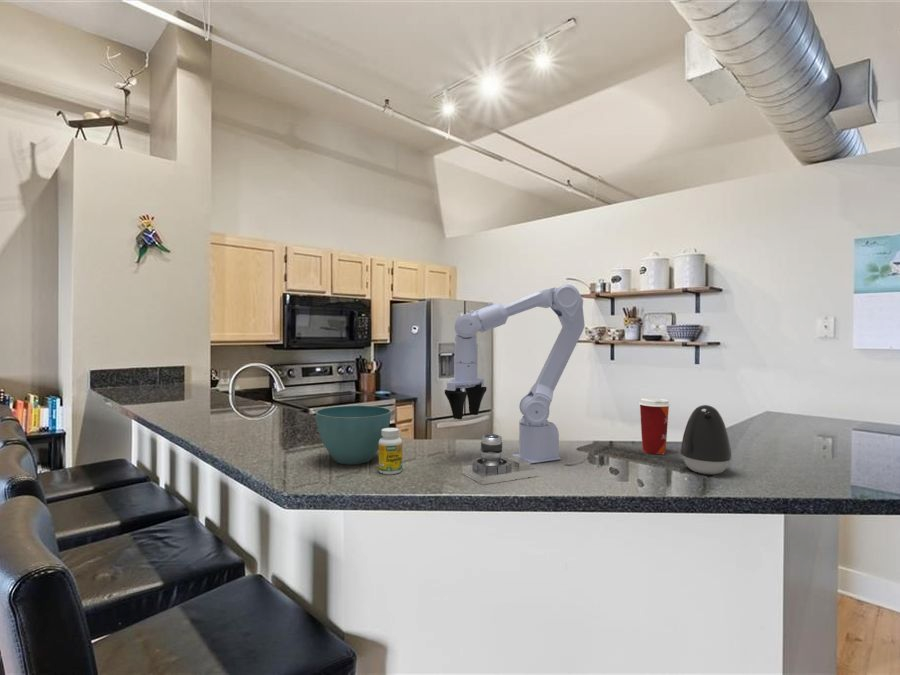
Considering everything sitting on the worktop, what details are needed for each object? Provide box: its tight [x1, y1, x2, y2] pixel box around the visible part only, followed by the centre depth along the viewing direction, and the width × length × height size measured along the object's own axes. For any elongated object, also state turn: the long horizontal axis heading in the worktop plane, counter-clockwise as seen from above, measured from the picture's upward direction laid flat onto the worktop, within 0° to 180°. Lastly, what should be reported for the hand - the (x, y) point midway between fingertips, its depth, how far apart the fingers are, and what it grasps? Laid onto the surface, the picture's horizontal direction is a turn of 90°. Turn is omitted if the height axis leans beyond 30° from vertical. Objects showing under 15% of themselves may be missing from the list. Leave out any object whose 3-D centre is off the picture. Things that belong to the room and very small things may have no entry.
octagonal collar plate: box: [461, 456, 539, 486], centre depth 108 cm, size 14×9×3 cm, turn 116°
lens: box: [480, 433, 503, 466], centre depth 107 cm, size 5×5×7 cm
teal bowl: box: [315, 405, 392, 465], centre depth 120 cm, size 18×18×12 cm
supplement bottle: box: [378, 427, 403, 475], centre depth 110 cm, size 5×5×10 cm
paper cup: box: [638, 397, 671, 455], centre depth 129 cm, size 8×8×14 cm
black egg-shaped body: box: [680, 404, 732, 476], centre depth 111 cm, size 10×10×15 cm
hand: (466, 416), depth 122 cm, fingers open, 7 cm apart
